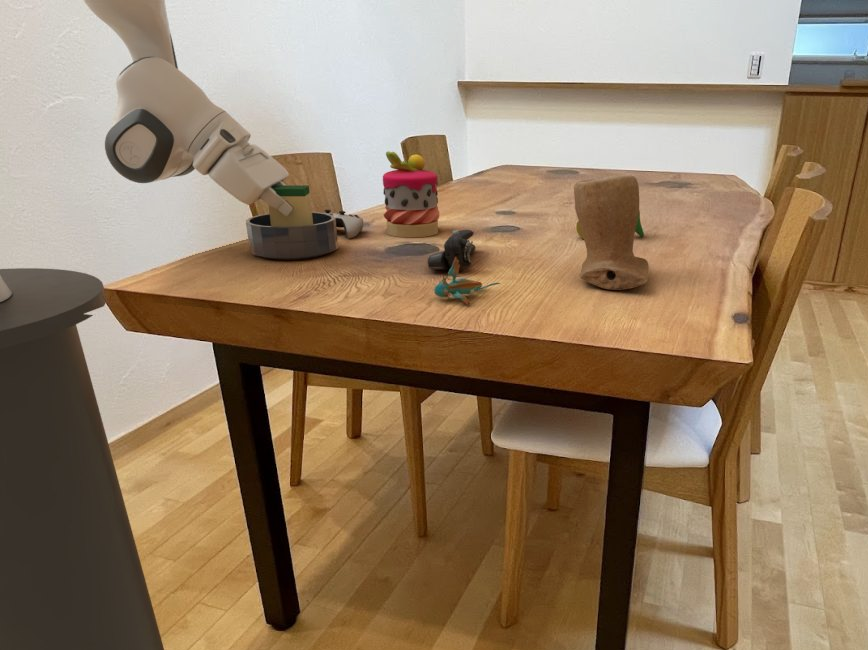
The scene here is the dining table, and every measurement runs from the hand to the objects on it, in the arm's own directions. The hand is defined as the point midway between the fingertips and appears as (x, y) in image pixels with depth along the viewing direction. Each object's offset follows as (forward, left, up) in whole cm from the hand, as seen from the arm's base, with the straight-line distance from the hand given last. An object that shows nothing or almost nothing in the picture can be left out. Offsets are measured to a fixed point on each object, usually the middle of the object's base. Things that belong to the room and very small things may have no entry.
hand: (294, 209), depth 109 cm
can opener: (+23, -16, -7) cm, 29 cm away
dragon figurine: (+18, -35, -7) cm, 40 cm away
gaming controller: (+8, +13, -7) cm, 17 cm away
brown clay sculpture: (+41, -33, -7) cm, 53 cm away
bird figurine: (+58, -5, -7) cm, 59 cm away
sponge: (-1, 0, -4) cm, 4 cm away
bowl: (-1, 0, -7) cm, 7 cm away
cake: (+22, +10, -7) cm, 26 cm away
